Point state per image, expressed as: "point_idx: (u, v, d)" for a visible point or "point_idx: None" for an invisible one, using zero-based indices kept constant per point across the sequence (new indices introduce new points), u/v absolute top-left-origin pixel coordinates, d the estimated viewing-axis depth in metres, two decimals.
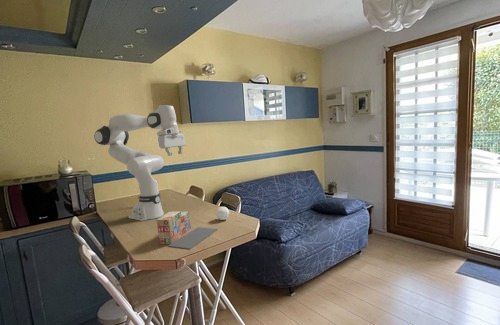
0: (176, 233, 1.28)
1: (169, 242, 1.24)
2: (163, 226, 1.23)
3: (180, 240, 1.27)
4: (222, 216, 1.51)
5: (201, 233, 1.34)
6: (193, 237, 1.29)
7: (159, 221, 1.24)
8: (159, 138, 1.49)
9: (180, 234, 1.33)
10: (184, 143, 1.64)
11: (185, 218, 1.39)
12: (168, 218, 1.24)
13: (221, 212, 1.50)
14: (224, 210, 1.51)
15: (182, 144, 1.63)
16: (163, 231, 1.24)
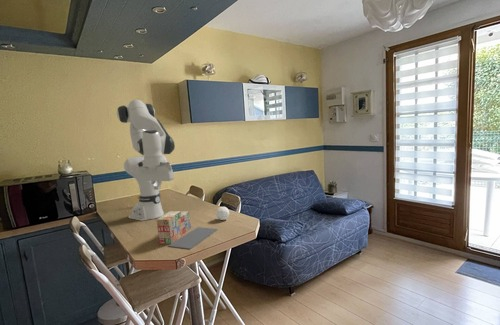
0: (176, 232, 1.29)
1: (169, 242, 1.25)
2: (163, 225, 1.24)
3: (180, 240, 1.27)
4: (222, 216, 1.51)
5: (201, 233, 1.34)
6: (193, 237, 1.29)
7: (159, 221, 1.24)
8: None
9: (180, 234, 1.33)
10: (166, 178, 1.30)
11: (185, 218, 1.39)
12: (168, 218, 1.25)
13: (221, 212, 1.50)
14: (224, 210, 1.51)
15: (163, 179, 1.31)
16: (162, 230, 1.24)
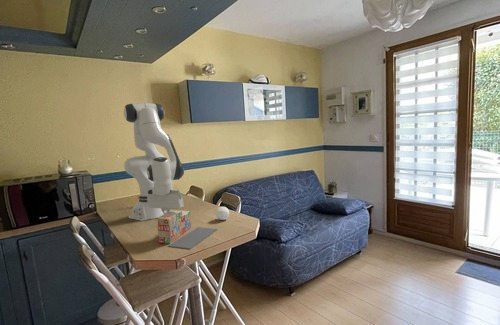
0: (175, 232, 1.29)
1: (168, 241, 1.25)
2: (163, 225, 1.24)
3: (180, 240, 1.27)
4: (222, 216, 1.51)
5: (201, 233, 1.34)
6: (193, 237, 1.29)
7: (159, 220, 1.24)
8: None
9: (179, 233, 1.33)
10: (176, 206, 1.30)
11: (186, 218, 1.39)
12: (169, 217, 1.25)
13: (221, 212, 1.50)
14: (224, 210, 1.51)
15: (173, 207, 1.31)
16: (162, 229, 1.25)
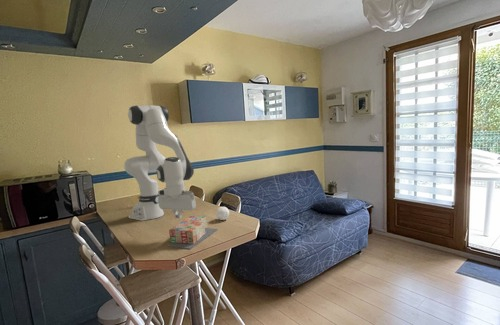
0: None
1: (172, 240, 1.24)
2: (187, 237, 1.22)
3: None
4: (222, 216, 1.51)
5: None
6: None
7: (191, 233, 1.21)
8: None
9: None
10: (188, 207, 1.27)
11: None
12: (195, 240, 1.23)
13: (221, 212, 1.50)
14: (224, 210, 1.51)
15: (185, 208, 1.28)
16: (182, 235, 1.23)
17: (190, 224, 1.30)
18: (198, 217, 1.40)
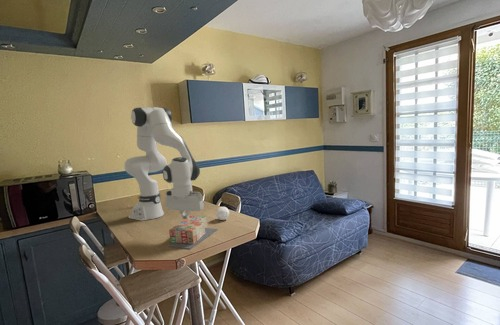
0: None
1: (172, 240, 1.24)
2: (187, 237, 1.22)
3: None
4: (222, 216, 1.51)
5: None
6: None
7: (191, 233, 1.21)
8: None
9: None
10: (196, 208, 1.25)
11: None
12: (195, 240, 1.23)
13: (221, 212, 1.50)
14: (224, 210, 1.51)
15: (193, 209, 1.26)
16: (182, 235, 1.23)
17: (190, 224, 1.30)
18: (198, 217, 1.40)
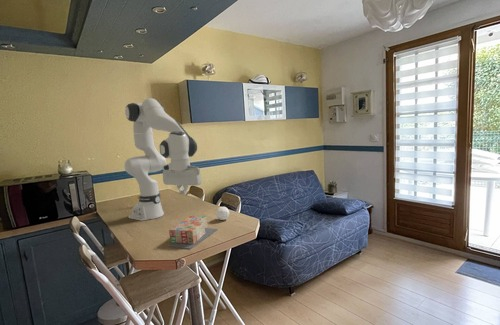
0: None
1: (172, 240, 1.24)
2: (187, 237, 1.22)
3: None
4: (222, 216, 1.51)
5: None
6: None
7: (191, 233, 1.21)
8: None
9: None
10: (194, 183, 1.24)
11: None
12: (195, 240, 1.23)
13: (221, 212, 1.50)
14: (224, 210, 1.51)
15: (190, 183, 1.25)
16: (182, 235, 1.23)
17: (190, 224, 1.30)
18: (198, 217, 1.40)
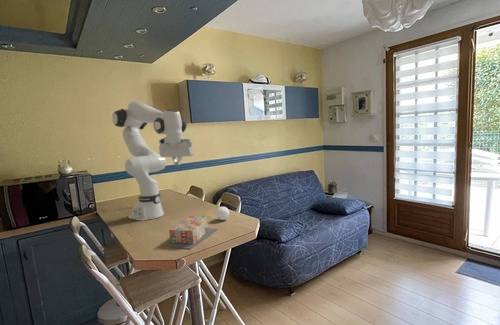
0: None
1: (172, 240, 1.24)
2: (187, 237, 1.22)
3: None
4: (222, 216, 1.51)
5: None
6: None
7: (191, 233, 1.21)
8: None
9: None
10: (186, 154, 1.40)
11: None
12: (195, 240, 1.23)
13: (221, 212, 1.50)
14: (224, 210, 1.51)
15: (183, 155, 1.41)
16: (182, 235, 1.23)
17: (190, 224, 1.30)
18: (198, 217, 1.40)
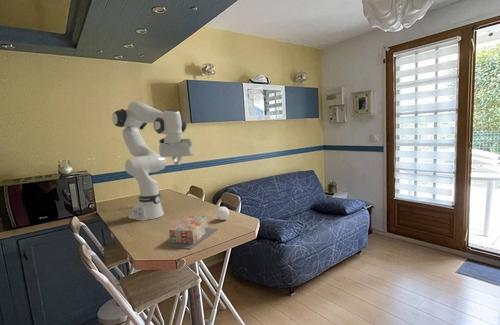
0: None
1: (172, 240, 1.24)
2: (187, 237, 1.22)
3: None
4: (222, 216, 1.51)
5: None
6: None
7: (191, 233, 1.21)
8: None
9: None
10: (186, 153, 1.40)
11: None
12: (195, 240, 1.23)
13: (221, 212, 1.50)
14: (224, 210, 1.51)
15: (183, 154, 1.41)
16: (182, 235, 1.23)
17: (190, 224, 1.30)
18: (198, 217, 1.40)
